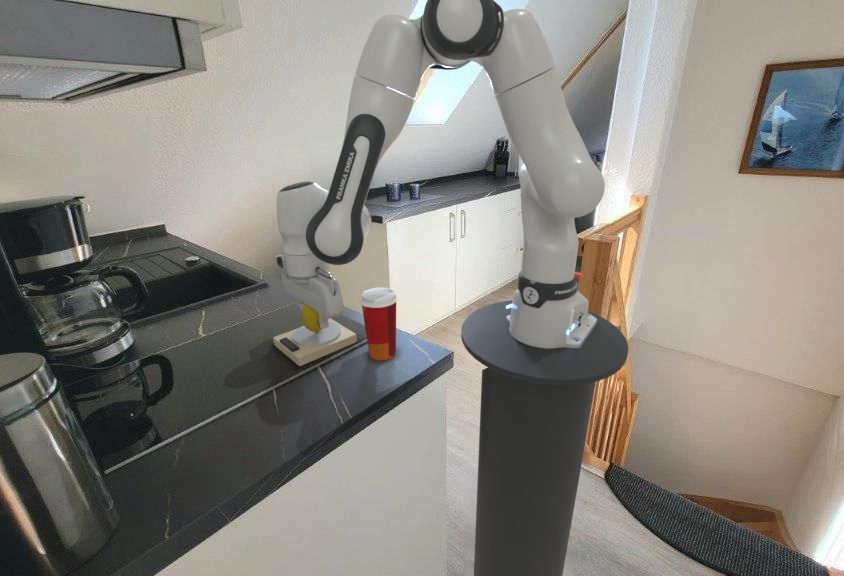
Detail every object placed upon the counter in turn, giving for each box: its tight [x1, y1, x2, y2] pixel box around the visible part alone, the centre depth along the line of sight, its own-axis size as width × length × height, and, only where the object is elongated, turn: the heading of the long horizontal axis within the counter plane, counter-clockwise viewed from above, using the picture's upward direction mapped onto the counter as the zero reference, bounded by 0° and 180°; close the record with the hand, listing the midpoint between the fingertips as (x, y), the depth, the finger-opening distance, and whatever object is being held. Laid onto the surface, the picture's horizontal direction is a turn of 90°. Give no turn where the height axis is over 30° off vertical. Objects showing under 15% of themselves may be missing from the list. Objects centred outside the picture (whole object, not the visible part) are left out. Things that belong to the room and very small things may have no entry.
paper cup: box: [359, 286, 399, 361], centre depth 84 cm, size 8×8×14 cm
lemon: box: [301, 304, 322, 333], centre depth 89 cm, size 6×6×8 cm
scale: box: [272, 318, 358, 367], centre depth 90 cm, size 14×12×3 cm
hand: (315, 322), depth 89 cm, fingers closed on lemon, 5 cm apart
